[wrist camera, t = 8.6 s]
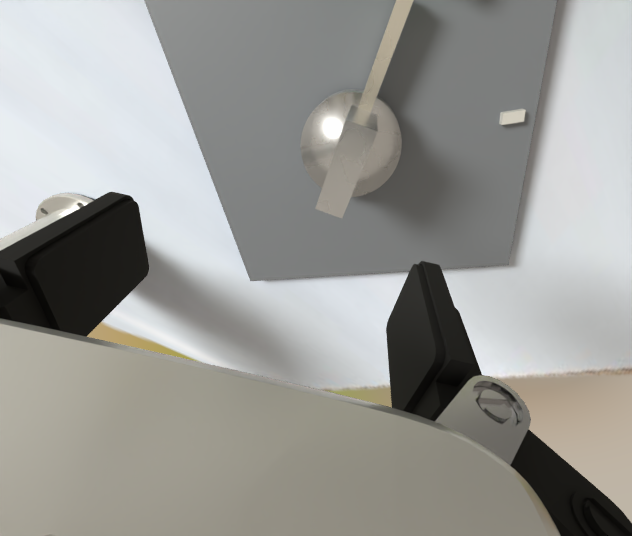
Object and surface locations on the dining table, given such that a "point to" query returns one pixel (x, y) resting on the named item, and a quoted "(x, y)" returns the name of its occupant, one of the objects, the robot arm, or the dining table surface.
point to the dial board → (402, 97)
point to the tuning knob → (355, 132)
